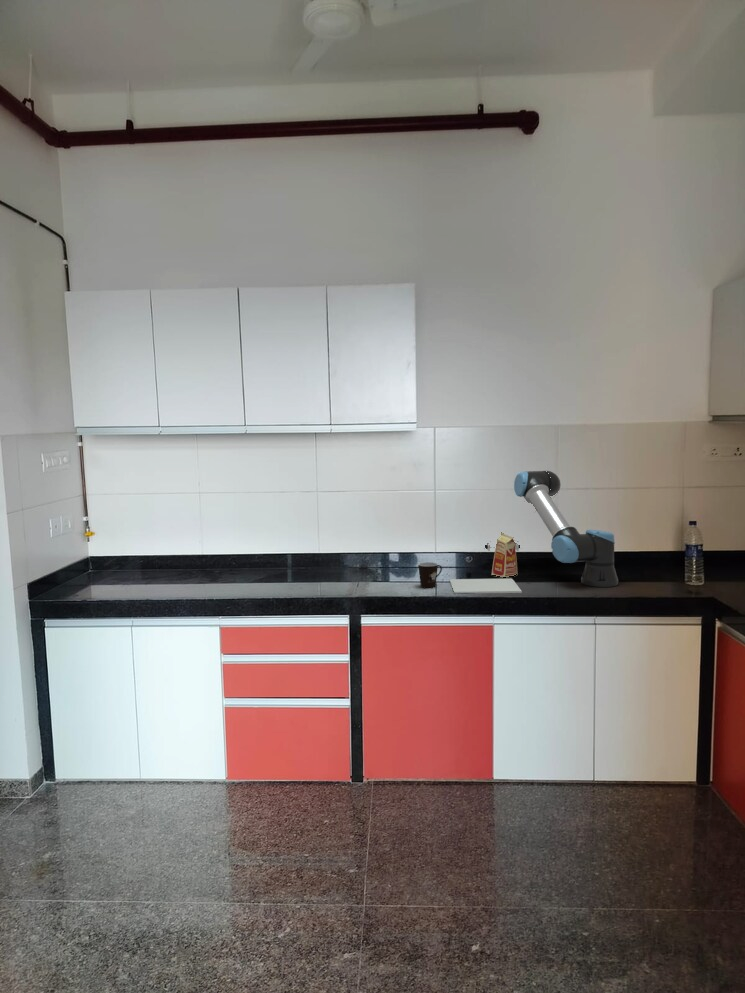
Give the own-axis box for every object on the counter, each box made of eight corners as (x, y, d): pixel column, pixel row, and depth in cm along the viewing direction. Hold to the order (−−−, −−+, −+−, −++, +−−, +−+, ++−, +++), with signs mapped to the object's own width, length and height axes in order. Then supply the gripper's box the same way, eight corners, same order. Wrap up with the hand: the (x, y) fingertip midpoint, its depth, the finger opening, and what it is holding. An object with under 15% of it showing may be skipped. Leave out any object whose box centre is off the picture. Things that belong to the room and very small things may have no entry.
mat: (512, 580, 290) (512, 578, 289) (521, 592, 267) (521, 591, 267) (449, 581, 291) (449, 579, 291) (454, 593, 268) (454, 591, 268)
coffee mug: (421, 589, 276) (421, 566, 275) (416, 585, 284) (415, 563, 283) (447, 587, 278) (447, 565, 277) (441, 583, 287) (441, 561, 286)
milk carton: (491, 575, 301) (491, 533, 299) (504, 572, 306) (504, 530, 304) (506, 578, 293) (506, 535, 291) (519, 575, 299) (519, 532, 297)
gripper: (523, 547, 328) (529, 555, 307) (474, 548, 331) (477, 556, 310) (523, 533, 328) (529, 540, 307) (474, 533, 330) (477, 540, 309)
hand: (503, 548), depth 308 cm, fingers open, 13 cm apart
